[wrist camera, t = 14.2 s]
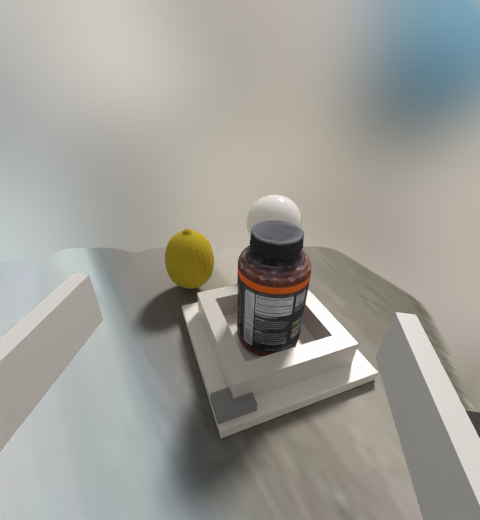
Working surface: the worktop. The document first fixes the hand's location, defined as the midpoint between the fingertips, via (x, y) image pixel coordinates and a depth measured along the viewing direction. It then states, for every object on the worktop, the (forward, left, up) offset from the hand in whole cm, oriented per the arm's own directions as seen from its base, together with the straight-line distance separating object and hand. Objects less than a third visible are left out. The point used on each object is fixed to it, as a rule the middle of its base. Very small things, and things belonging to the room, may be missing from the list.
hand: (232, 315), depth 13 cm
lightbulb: (-18, +12, -13) cm, 25 cm away
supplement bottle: (-8, +7, -12) cm, 16 cm away
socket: (-8, +7, -13) cm, 17 cm away
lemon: (-19, +2, -13) cm, 24 cm away
